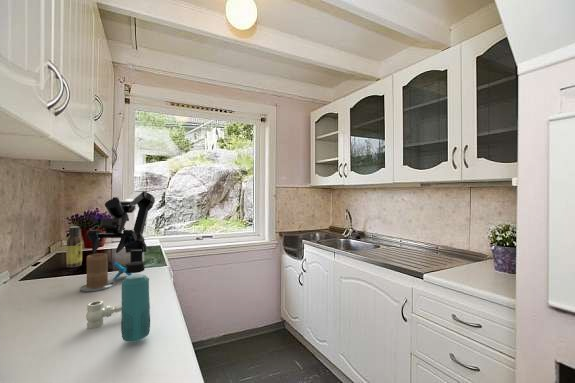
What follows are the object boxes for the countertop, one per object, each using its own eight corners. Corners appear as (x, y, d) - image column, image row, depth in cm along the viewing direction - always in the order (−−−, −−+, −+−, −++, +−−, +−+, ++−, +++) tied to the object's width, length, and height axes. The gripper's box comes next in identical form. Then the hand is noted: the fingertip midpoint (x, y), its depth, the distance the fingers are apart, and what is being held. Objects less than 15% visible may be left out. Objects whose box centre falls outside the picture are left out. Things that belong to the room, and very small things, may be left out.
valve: (88, 333, 75) (137, 318, 83) (88, 308, 75) (137, 296, 83) (83, 325, 79) (130, 311, 88) (83, 301, 79) (130, 291, 88)
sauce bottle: (81, 267, 139) (81, 227, 138) (65, 268, 135) (65, 228, 135) (82, 264, 144) (82, 225, 144) (67, 265, 141) (67, 226, 141)
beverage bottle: (154, 340, 71) (154, 262, 71) (125, 351, 66) (125, 267, 66) (144, 331, 75) (144, 258, 75) (116, 341, 70) (116, 262, 70)
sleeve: (83, 287, 108) (83, 256, 108) (99, 282, 114) (99, 252, 114) (94, 289, 106) (94, 257, 106) (111, 283, 112) (111, 254, 112)
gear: (135, 276, 118) (115, 261, 116) (123, 288, 116) (103, 273, 113) (134, 273, 128) (116, 259, 125) (123, 284, 125) (105, 270, 123)
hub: (76, 287, 110) (76, 276, 109) (108, 280, 118) (108, 270, 118) (84, 294, 102) (84, 282, 102) (117, 286, 110) (117, 275, 110)
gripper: (88, 211, 120) (71, 241, 109) (134, 211, 121) (121, 241, 111) (98, 227, 127) (83, 257, 116) (141, 226, 129) (130, 256, 118)
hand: (104, 252), depth 115 cm, fingers open, 9 cm apart
